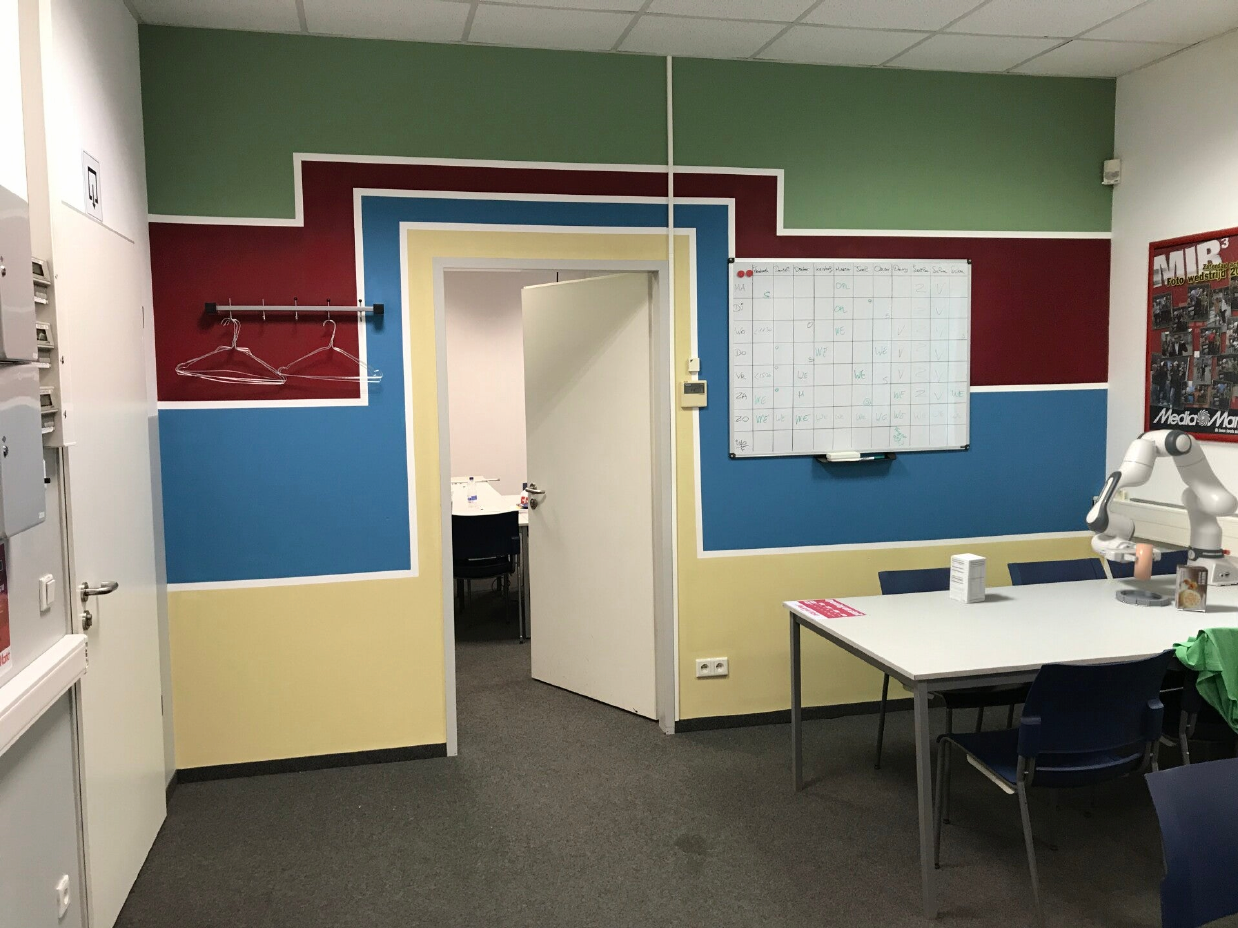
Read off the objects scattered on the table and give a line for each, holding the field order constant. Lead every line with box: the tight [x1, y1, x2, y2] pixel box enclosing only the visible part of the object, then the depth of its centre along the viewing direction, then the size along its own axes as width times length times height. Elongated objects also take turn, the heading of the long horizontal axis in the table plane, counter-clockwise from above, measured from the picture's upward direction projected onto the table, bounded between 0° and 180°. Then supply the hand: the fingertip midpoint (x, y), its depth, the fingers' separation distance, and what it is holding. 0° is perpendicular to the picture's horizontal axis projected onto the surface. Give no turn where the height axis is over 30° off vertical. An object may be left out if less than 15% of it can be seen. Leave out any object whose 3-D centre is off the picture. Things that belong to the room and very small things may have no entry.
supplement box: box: [949, 552, 988, 604], centre depth 350 cm, size 10×9×17 cm
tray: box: [1115, 588, 1169, 607], centre depth 350 cm, size 17×17×2 cm
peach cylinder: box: [1133, 542, 1155, 581], centre depth 349 cm, size 6×6×13 cm
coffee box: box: [1174, 564, 1208, 610], centre depth 338 cm, size 9×6×16 cm
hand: (1145, 559), depth 348 cm, fingers closed on peach cylinder, 6 cm apart
